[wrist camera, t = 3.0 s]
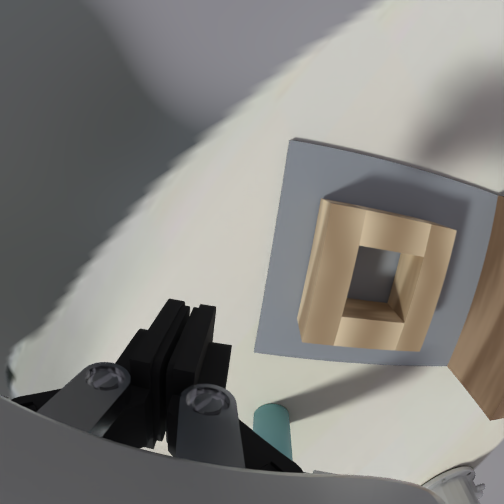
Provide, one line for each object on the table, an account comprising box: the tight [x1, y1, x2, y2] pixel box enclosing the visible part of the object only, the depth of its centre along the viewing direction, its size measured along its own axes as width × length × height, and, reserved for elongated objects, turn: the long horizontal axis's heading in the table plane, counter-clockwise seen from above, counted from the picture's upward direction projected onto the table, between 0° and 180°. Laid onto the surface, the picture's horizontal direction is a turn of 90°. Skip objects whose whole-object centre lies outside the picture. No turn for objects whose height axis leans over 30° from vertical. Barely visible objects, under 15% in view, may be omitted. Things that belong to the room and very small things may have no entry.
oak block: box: [297, 198, 457, 352], centre depth 23 cm, size 10×10×4 cm
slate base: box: [254, 140, 498, 366], centre depth 26 cm, size 24×18×1 cm
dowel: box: [253, 404, 293, 461], centre depth 23 cm, size 4×4×14 cm
